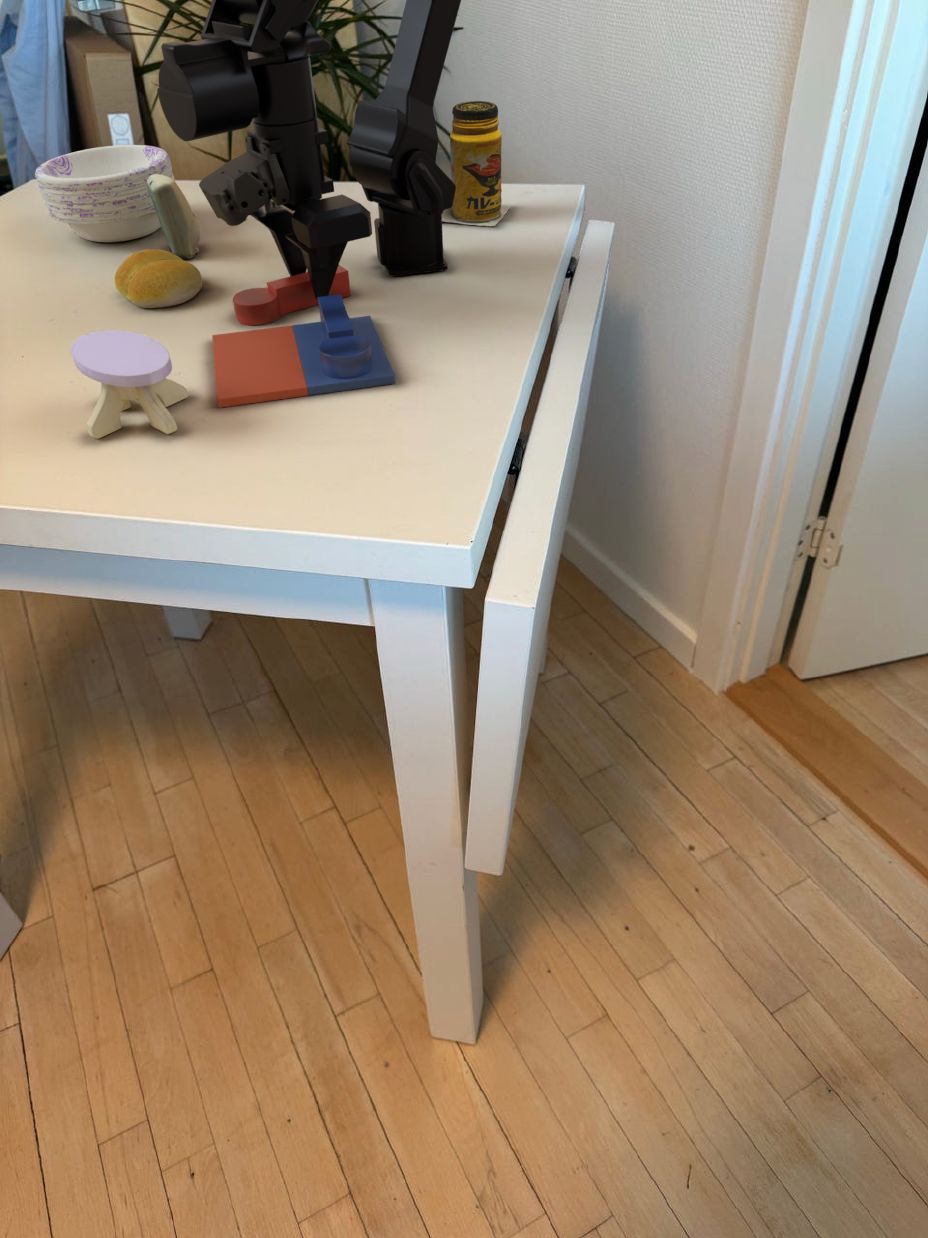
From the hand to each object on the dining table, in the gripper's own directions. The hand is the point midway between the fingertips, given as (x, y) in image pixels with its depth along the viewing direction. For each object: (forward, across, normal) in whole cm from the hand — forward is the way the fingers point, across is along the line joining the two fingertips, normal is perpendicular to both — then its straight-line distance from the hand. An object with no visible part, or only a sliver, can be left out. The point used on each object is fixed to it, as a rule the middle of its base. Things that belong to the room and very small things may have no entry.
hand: (310, 291), depth 88 cm
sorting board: (+1, +12, -7) cm, 14 cm away
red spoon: (+1, 0, -2) cm, 2 cm away
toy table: (+1, +13, -22) cm, 26 cm away
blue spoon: (0, +13, -3) cm, 14 cm away
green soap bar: (+1, -22, -6) cm, 23 cm away
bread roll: (+1, -12, -12) cm, 17 cm away
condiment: (+1, -12, +28) cm, 30 cm away
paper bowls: (+1, -34, -9) cm, 35 cm away
